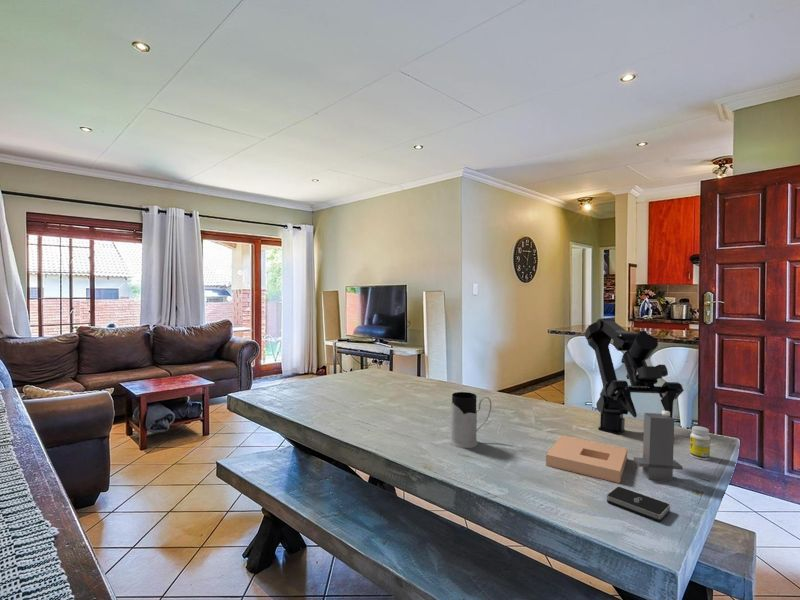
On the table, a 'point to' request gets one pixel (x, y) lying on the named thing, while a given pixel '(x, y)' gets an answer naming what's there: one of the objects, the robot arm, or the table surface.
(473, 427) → the grey mug
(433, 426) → the table surface
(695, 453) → the supplement bottle
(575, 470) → the plate
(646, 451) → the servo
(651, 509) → the external hard drive
